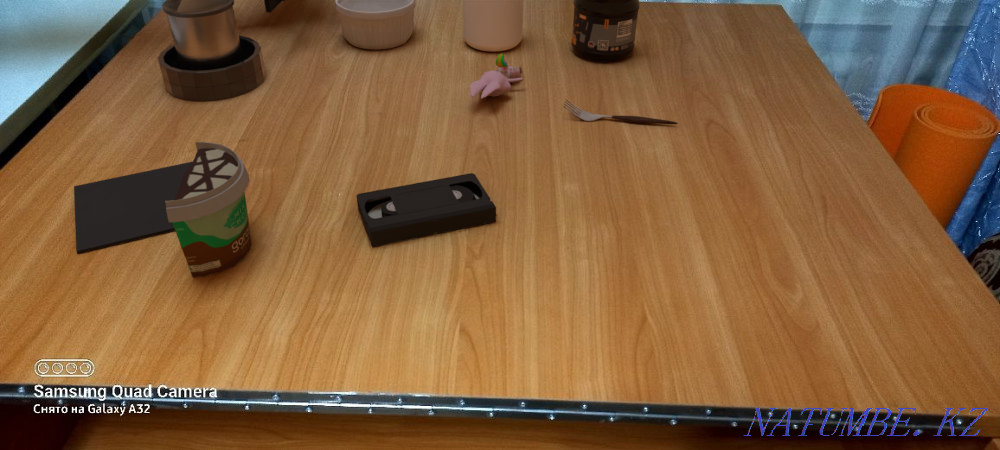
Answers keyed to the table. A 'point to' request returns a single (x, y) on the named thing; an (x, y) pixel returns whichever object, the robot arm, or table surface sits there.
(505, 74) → the rabbit figure
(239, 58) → the small pot
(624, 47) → the supplement container
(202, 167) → the food container
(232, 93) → the shallow dark brown bowl
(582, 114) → the fork
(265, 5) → the robot arm
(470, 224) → the vhs tape
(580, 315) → the table surface
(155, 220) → the mat
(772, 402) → the table surface
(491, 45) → the cup
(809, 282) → the table surface
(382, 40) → the ramekin
